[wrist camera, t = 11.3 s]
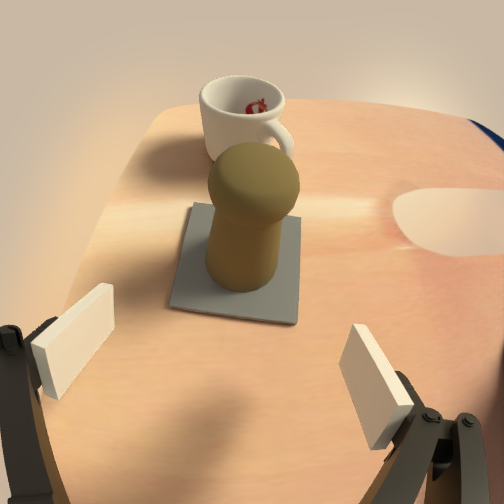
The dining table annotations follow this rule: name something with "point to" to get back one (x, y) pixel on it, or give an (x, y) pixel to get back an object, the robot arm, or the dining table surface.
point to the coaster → (228, 302)
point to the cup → (242, 114)
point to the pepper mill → (248, 214)
